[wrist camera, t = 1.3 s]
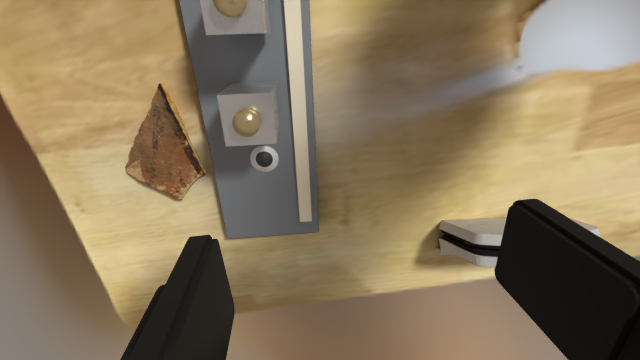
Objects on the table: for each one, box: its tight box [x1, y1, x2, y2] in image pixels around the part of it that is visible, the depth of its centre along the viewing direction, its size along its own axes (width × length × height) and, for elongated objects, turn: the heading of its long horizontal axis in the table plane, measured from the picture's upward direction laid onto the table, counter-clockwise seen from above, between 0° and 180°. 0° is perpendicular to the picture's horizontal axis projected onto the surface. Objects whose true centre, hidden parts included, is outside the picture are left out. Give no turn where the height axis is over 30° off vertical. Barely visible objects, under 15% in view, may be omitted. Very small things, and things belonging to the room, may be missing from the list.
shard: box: [125, 83, 207, 199], centre depth 32 cm, size 11×8×2 cm
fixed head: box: [200, 0, 271, 35], centre depth 22 cm, size 4×4×8 cm
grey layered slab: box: [436, 217, 600, 267], centre depth 37 cm, size 17×5×10 cm, turn 90°
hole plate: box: [179, 0, 319, 239], centre depth 31 cm, size 28×11×2 cm, turn 2°
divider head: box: [217, 82, 279, 147], centre depth 26 cm, size 4×4×8 cm
